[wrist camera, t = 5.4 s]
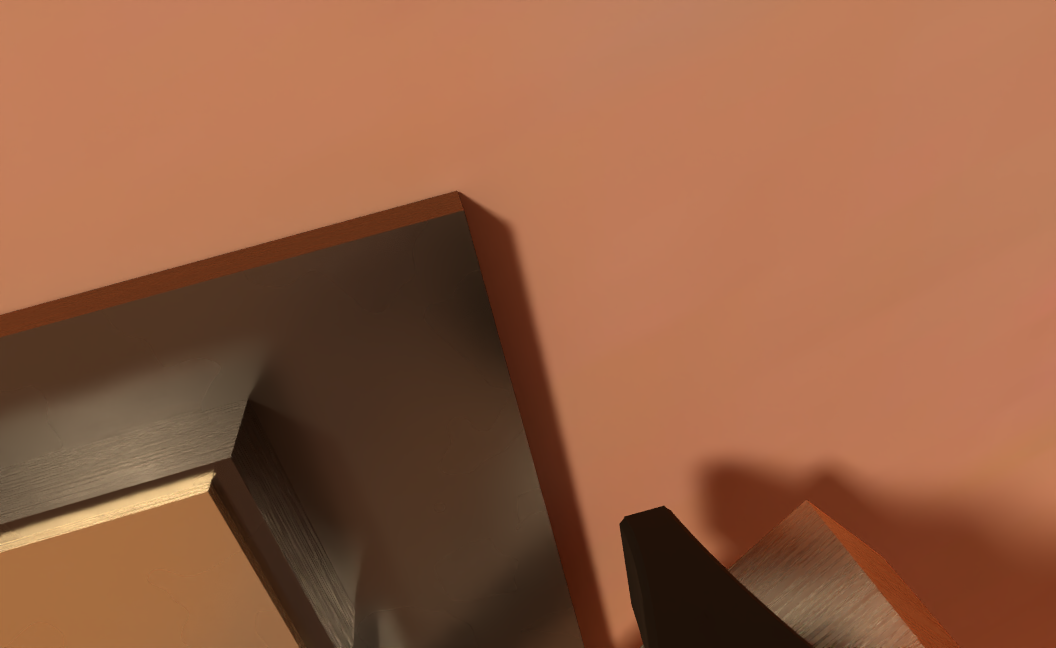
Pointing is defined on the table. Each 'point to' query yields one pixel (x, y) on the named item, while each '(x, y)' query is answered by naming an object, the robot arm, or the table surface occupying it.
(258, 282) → the tray
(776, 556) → the beige rectangular bar
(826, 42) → the table surface
